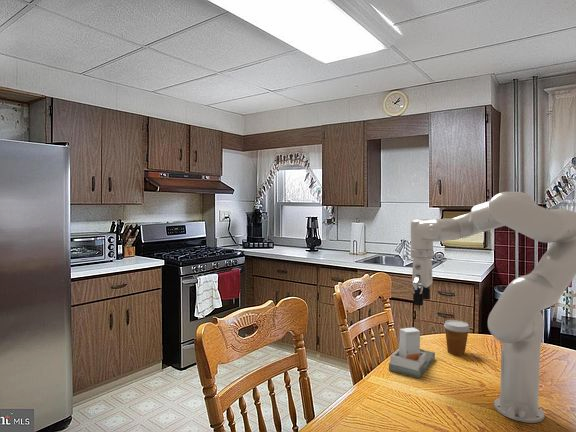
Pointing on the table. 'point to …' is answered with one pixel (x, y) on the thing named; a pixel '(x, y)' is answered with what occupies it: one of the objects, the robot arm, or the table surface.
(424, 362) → the divided tray with ball
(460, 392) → the table surface
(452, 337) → the disposable coffee cup
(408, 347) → the skincare box
